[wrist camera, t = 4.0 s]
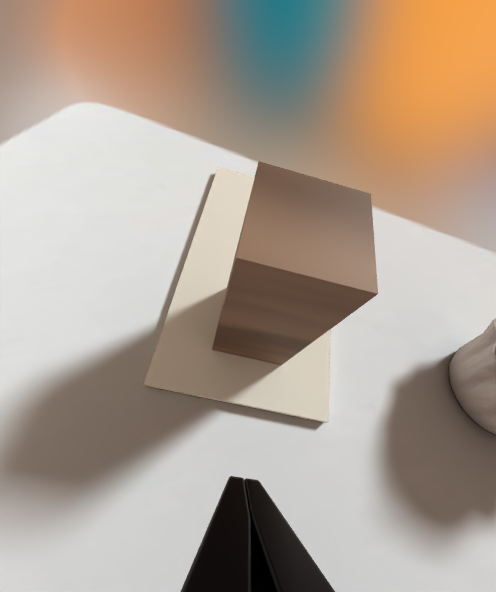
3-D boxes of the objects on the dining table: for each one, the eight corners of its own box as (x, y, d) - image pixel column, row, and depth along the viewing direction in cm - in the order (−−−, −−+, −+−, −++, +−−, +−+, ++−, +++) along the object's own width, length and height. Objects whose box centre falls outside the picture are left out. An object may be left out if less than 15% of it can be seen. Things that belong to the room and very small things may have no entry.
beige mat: (324, 422, 17) (328, 422, 16) (144, 385, 16) (143, 383, 15) (330, 204, 26) (333, 199, 25) (217, 172, 25) (218, 167, 24)
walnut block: (281, 365, 17) (377, 294, 8) (211, 349, 17) (236, 257, 8) (288, 303, 19) (370, 194, 10) (226, 287, 19) (258, 161, 10)
